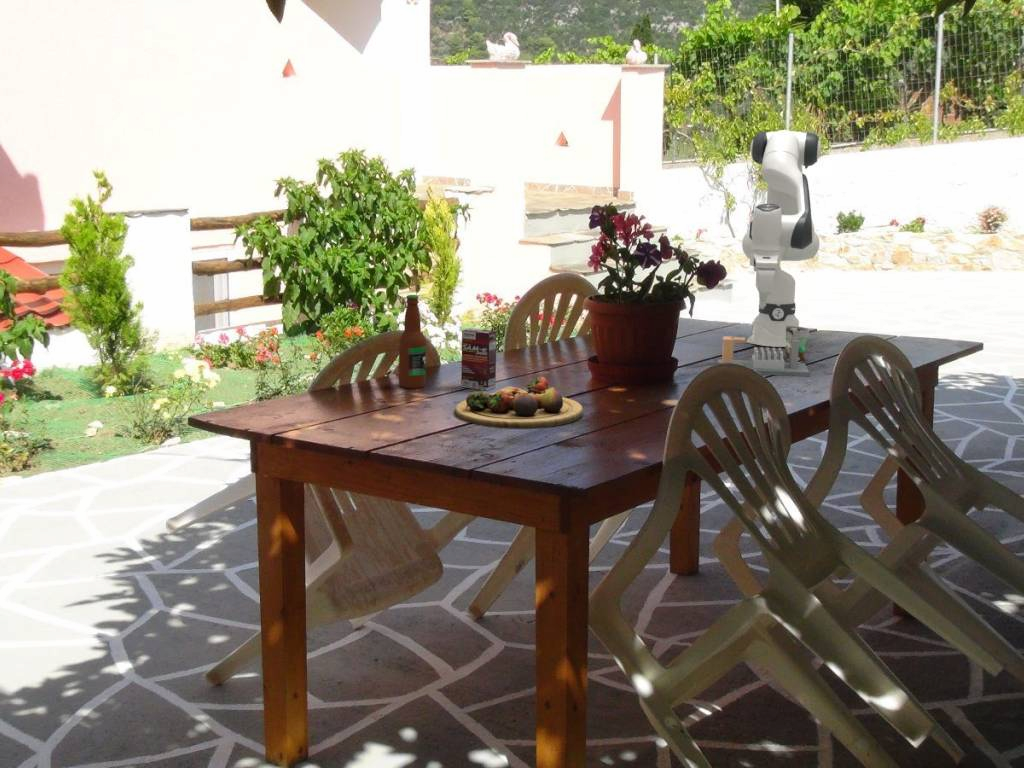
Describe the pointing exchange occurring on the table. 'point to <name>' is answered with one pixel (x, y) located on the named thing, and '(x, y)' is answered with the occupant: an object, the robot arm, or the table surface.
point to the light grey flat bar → (772, 334)
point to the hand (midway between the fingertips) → (762, 306)
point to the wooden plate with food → (520, 407)
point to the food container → (802, 337)
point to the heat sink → (776, 361)
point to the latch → (730, 347)
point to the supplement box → (478, 359)
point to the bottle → (412, 348)
